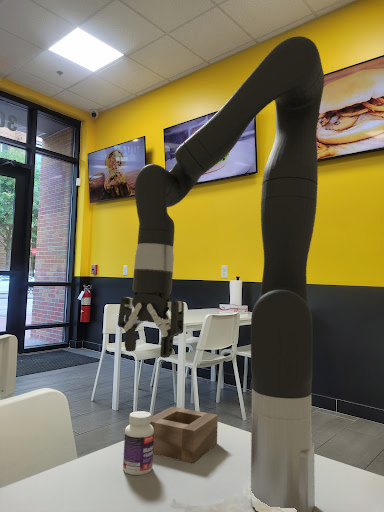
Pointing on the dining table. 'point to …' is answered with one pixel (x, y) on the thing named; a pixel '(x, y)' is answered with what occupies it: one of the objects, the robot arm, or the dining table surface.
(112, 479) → the dining table surface
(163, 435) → the socket block
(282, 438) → the robot arm
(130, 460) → the pill bottle
